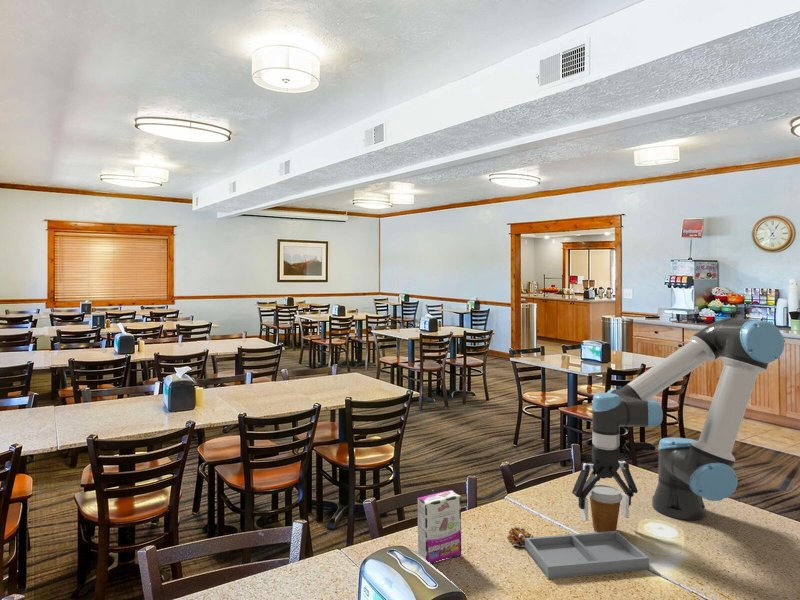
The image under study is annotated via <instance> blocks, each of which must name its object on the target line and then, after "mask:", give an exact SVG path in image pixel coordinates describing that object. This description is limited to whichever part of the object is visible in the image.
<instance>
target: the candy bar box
mask: <svg viewBox="0 0 800 600" xmlns="http://www.w3.org/2000/svg"><path fill="white" fill-rule="evenodd" d="M461 497H462V496H461V495H460V494H458V493H457V492H456V491H454V490H451V489H449V490H445V491H441V492H437V493H432V494H428V495H425V496H420V497H417V541H418V542H417V551H418V552H417V553H418V554H420V555H421V556H423V557H424V558H425V559H426V560H427V561H428V562H430V563H432V564H431V565H433V563H434V562H436V561H439V560H442V559H446V558H450V557H453V558H456V557H455V556H457V557H459V556H458V555H460V556H462V502H461V501H462V499H461ZM418 554H417V555H418ZM450 559H451V558H450ZM434 564H435V563H434Z"/></svg>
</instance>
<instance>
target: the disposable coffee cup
mask: <svg viewBox="0 0 800 600" xmlns="http://www.w3.org/2000/svg"><path fill="white" fill-rule="evenodd" d="M621 493H622V492H621V490H620V489H619V488H617V487H616V486H615V487H614V486H611V485H608V484H595V485H594V487H593V488H592V489H591V491H590V492H589V494H588V496H589V503H590V504H589V505H590V511H591V518H592V519H591V520H592V529H593V528H594V529H593V530H594V531H595V530H596V531H597V532H608V531H617V528H618V521H619V520H618V519H619V513H620V509H621V499H622V495H621ZM596 531H595V532H596Z"/></svg>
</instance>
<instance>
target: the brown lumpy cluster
mask: <svg viewBox="0 0 800 600" xmlns="http://www.w3.org/2000/svg"><path fill="white" fill-rule="evenodd" d="M508 532H509V535H508V536H506V538H507V540H508V542H511V545H512V546H517V547H521V548H525V538H532V537H534V535H533V534H532V533H530V532H529V531H527V530H526V529H525V527H520V526H517V525H514V526H511V527H510V528H508Z"/></svg>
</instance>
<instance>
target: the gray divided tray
mask: <svg viewBox="0 0 800 600" xmlns="http://www.w3.org/2000/svg"><path fill="white" fill-rule="evenodd" d="M524 549H525V551H526V552H527V554H528V555H529V556H530V557H531V559H532V560H533V561H534V563H535V564H536V565H537V566H538V568H539V570H541V572H542V573H543V574H544V576H545V577H546V578H547V579H560V578H570V577H571V578H573V577H583V576H584V577H585V576H591V575H604V574H614V573H625V572H637V571H646V570H649V569H650V557H649V556H648V555H646V554H645V553H644V552H643V551H642V550H640V548H638V547H637V546H636V545H634V543H632V542H631V541H629V539H627V538H626V537H625V536H623V535H622V534H621V533H620V532H619V531H617V530H616V531H608V532H596V531H595V532H586V533H585V532H584V533H583V532H582V533H572V534H560V535H559V534H558V535H546V536H545V535H544V536H536V537H535V536H533V537H532V538H525V547H524Z"/></svg>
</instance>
